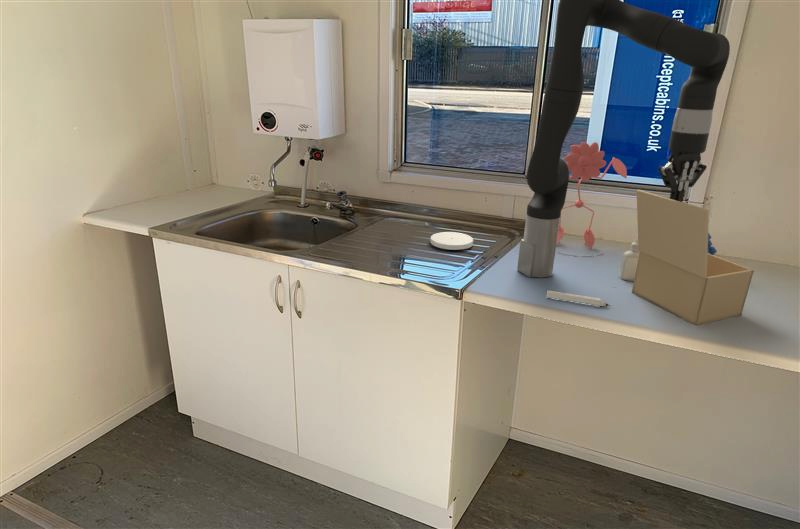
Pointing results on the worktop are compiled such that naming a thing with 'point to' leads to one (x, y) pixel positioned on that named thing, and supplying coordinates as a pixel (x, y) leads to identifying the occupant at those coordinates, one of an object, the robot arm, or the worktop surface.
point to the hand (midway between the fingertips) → (675, 205)
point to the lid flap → (673, 232)
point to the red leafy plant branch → (588, 176)
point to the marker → (576, 298)
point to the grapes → (710, 248)
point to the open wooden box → (693, 288)
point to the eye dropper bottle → (630, 262)
